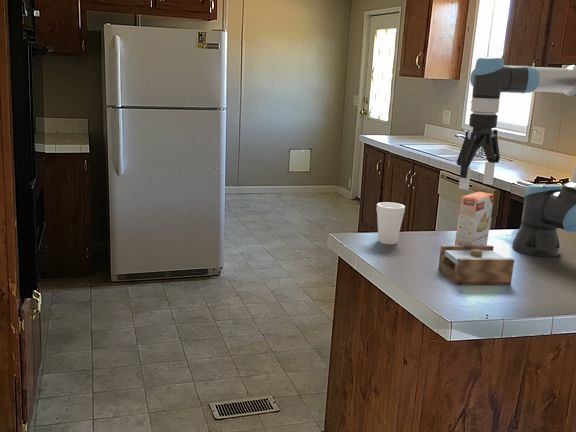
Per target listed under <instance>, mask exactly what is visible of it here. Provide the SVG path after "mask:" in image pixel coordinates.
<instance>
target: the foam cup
mask: <svg viewBox="0 0 576 432" xmlns="http://www.w3.org/2000/svg"><path fill="white" fill-rule="evenodd" d="M405 209H406V206H405V205H404V204H402V203H397V202H391V201H390V202H387V201H386V202H385V201H383V202H378V203H377V204H376V213H377V214H376V215H377V216H376V219H377V236H378V237H377V239H378V242H379V243H381V244H383V245H396V244H397V243H398V240H399V235H400V233H401V232H400V231H401V226H402V222H403V218H404V214H405V212H406V210H405Z"/></svg>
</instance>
